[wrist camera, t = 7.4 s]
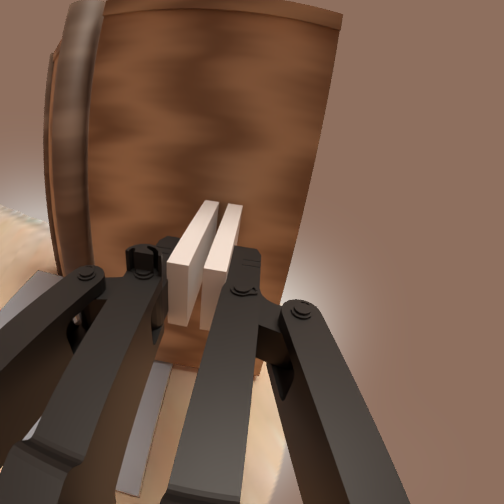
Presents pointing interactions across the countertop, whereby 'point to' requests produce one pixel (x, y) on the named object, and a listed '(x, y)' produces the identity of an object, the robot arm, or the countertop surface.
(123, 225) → the brown wooden board
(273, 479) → the countertop surface
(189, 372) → the countertop surface
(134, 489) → the card
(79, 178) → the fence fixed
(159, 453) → the countertop surface
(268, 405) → the countertop surface
